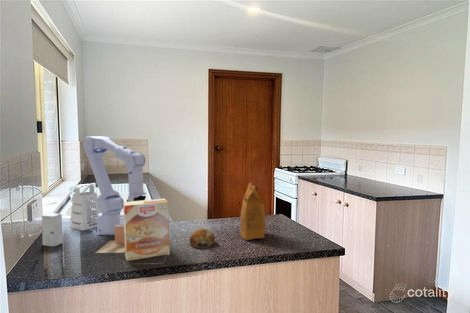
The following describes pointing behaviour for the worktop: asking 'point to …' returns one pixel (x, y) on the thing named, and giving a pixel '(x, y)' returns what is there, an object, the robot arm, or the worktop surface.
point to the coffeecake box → (146, 228)
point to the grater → (84, 209)
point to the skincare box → (52, 229)
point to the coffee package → (252, 215)
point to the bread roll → (202, 238)
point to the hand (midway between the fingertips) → (137, 214)
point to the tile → (119, 234)
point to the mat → (112, 248)
